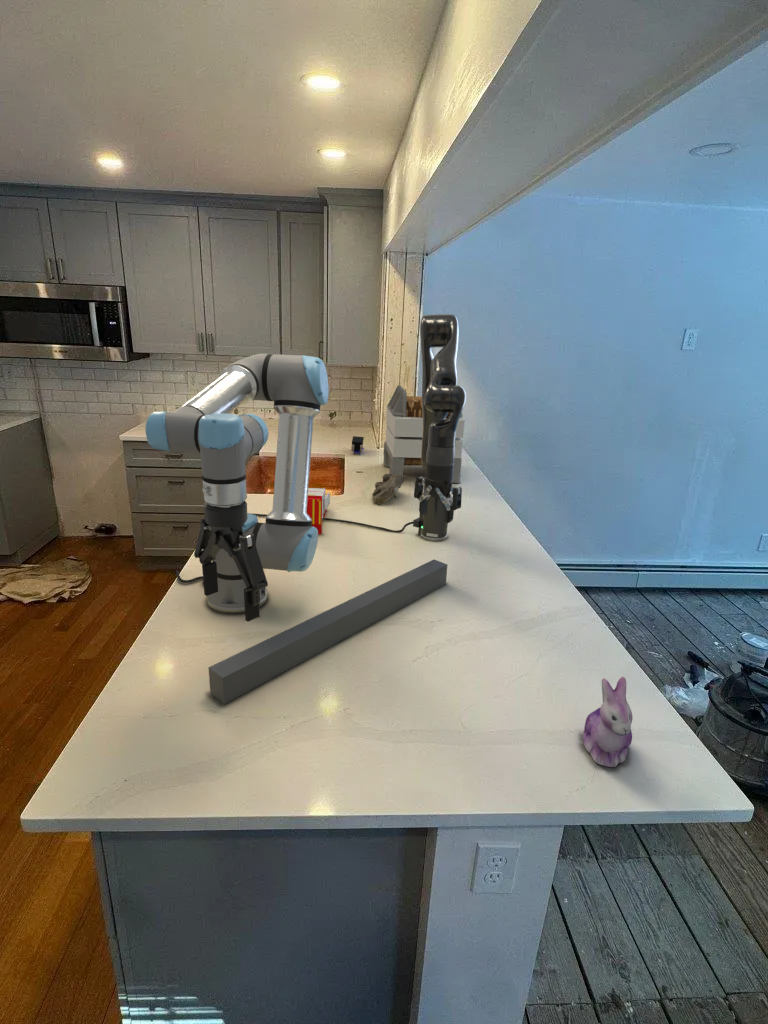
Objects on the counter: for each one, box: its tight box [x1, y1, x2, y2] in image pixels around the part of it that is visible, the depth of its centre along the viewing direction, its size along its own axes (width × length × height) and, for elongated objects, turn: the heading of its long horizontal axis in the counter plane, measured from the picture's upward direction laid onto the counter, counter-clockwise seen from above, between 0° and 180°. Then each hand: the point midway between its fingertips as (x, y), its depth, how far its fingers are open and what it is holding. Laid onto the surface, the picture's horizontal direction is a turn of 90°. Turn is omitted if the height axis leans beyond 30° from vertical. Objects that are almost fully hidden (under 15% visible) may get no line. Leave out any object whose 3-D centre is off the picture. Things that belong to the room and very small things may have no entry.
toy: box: [307, 487, 331, 535], centre depth 207 cm, size 12×13×30 cm
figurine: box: [582, 676, 633, 768], centre depth 102 cm, size 9×10×15 cm
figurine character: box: [350, 435, 364, 455], centre depth 308 cm, size 7×8×15 cm
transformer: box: [383, 384, 465, 484], centre depth 268 cm, size 34×33×41 cm
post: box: [208, 559, 448, 705], centre depth 139 cm, size 75×5×6 cm, turn 139°
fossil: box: [371, 472, 404, 505], centre depth 236 cm, size 22×10×15 cm
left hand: (231, 605), depth 109 cm, fingers open, 13 cm apart
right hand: (435, 518), depth 156 cm, fingers open, 8 cm apart
